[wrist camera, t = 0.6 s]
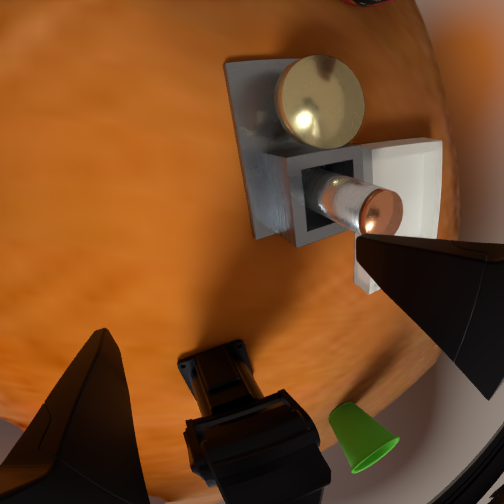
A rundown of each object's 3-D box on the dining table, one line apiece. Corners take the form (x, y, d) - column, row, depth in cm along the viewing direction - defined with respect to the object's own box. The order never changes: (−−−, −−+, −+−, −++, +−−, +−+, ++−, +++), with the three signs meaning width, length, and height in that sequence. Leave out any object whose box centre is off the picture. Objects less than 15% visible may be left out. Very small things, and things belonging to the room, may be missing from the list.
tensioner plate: (346, 208, 25) (383, 225, 21) (253, 237, 22) (281, 263, 18) (331, 60, 19) (372, 52, 15) (222, 64, 16) (248, 47, 12)
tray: (418, 250, 32) (433, 258, 30) (353, 282, 29) (369, 294, 27) (424, 137, 25) (442, 140, 23) (351, 145, 22) (371, 149, 20)
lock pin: (321, 198, 23) (401, 235, 15) (288, 207, 22) (365, 251, 15) (318, 161, 21) (403, 185, 14) (284, 168, 20) (365, 196, 13)
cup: (365, 402, 44) (400, 442, 35) (325, 432, 44) (356, 475, 34) (357, 385, 40) (399, 432, 30) (310, 420, 39) (347, 471, 30)
